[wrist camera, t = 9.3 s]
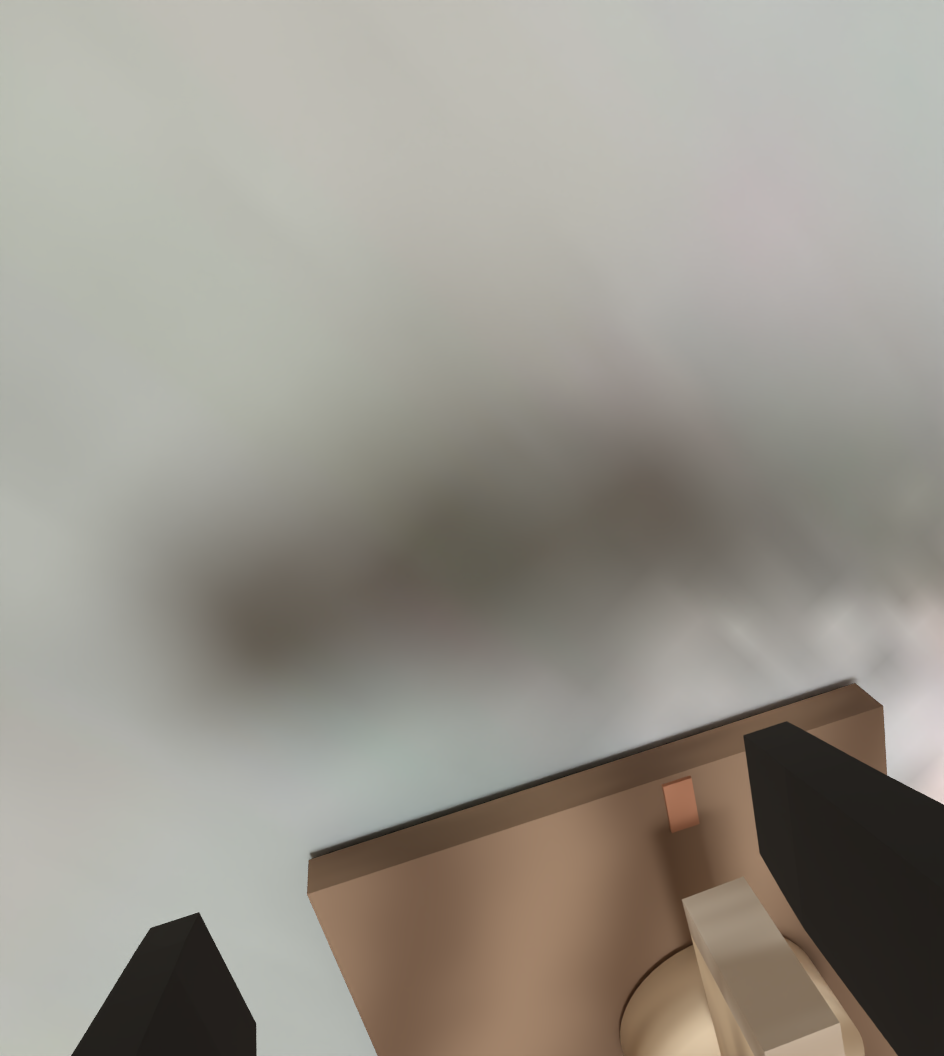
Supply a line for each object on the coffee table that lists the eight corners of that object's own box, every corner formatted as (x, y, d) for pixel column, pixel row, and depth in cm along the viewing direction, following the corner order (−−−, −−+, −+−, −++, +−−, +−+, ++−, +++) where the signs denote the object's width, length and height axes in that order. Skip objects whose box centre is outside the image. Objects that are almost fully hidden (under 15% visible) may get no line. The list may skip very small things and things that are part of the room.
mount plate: (855, 683, 22) (885, 707, 21) (881, 1054, 28) (906, 1090, 26) (308, 859, 21) (307, 897, 19) (457, 1207, 26) (462, 1253, 25)
